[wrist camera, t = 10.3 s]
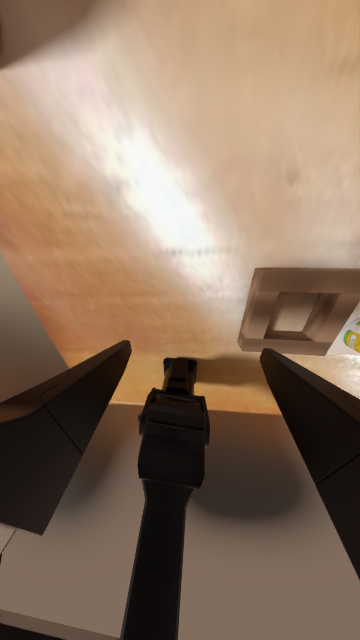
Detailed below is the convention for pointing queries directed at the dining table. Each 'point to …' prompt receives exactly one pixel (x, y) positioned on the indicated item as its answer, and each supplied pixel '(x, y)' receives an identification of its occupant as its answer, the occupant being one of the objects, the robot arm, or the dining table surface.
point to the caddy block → (324, 321)
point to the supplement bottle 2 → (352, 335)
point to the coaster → (338, 345)
